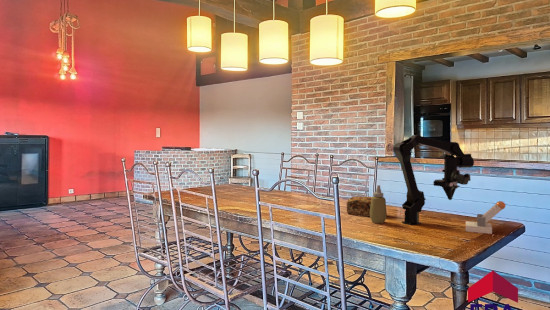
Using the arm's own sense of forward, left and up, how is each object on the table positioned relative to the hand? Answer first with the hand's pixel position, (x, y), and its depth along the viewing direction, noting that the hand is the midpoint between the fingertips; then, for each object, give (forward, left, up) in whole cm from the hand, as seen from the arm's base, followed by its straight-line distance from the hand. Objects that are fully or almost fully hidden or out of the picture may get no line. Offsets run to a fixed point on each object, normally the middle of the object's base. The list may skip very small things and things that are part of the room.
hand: (450, 199), depth 180 cm
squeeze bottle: (-30, +18, -11) cm, 37 cm away
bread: (-21, +35, -11) cm, 42 cm away
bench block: (-3, -17, -11) cm, 20 cm away
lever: (-3, -17, -7) cm, 19 cm away
